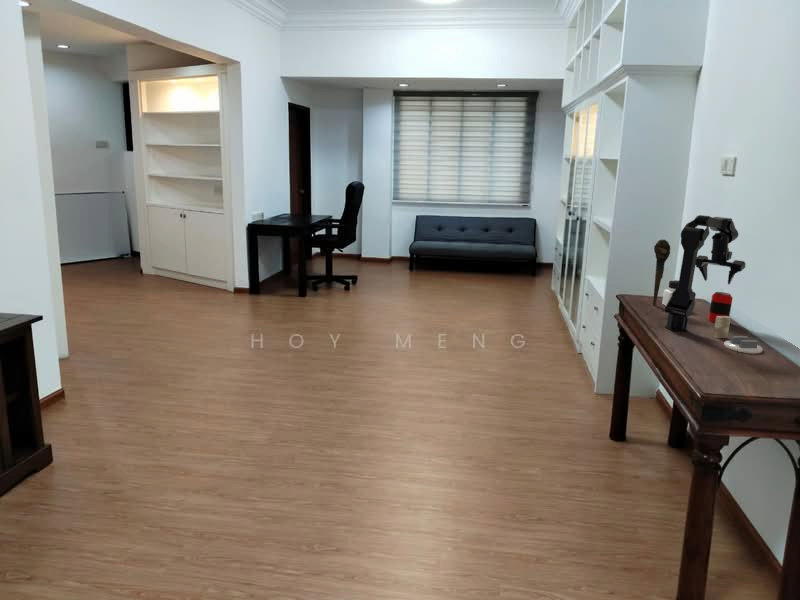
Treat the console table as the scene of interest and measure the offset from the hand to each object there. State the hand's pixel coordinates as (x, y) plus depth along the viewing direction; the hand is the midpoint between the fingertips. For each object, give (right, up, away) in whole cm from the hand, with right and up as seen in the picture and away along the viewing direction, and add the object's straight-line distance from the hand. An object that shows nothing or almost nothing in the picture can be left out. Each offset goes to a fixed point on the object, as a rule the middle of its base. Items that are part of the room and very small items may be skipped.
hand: (717, 282), depth 253 cm
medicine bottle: (-10, -11, +20) cm, 24 cm away
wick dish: (-11, -25, -38) cm, 47 cm away
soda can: (-1, -17, -3) cm, 17 cm away
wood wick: (-13, -22, -26) cm, 36 cm away
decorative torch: (-18, -10, +21) cm, 29 cm away
